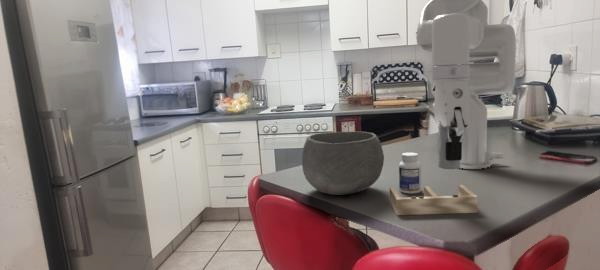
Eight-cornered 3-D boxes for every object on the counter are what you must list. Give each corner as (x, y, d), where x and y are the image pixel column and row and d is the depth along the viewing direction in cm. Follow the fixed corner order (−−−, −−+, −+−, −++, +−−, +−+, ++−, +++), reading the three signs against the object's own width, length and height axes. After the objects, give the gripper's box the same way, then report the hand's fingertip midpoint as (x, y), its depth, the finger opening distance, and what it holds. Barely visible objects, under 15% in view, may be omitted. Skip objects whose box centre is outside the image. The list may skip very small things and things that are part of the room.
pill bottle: (403, 187, 106) (403, 151, 105) (423, 189, 103) (423, 152, 102) (396, 192, 102) (395, 155, 100) (416, 195, 99) (416, 156, 97)
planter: (435, 165, 90) (435, 120, 89) (454, 164, 91) (454, 119, 89) (443, 170, 86) (444, 122, 84) (464, 168, 86) (464, 121, 85)
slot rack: (462, 199, 94) (462, 183, 94) (477, 212, 85) (477, 195, 85) (389, 201, 95) (389, 186, 94) (397, 215, 86) (396, 198, 86)
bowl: (385, 181, 112) (384, 129, 110) (383, 206, 92) (382, 142, 90) (311, 180, 117) (309, 130, 115) (294, 204, 97) (291, 143, 95)
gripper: (484, 73, 77) (482, 165, 79) (454, 73, 94) (454, 150, 96) (444, 74, 77) (443, 166, 80) (422, 75, 94) (422, 151, 97)
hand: (449, 156), depth 88 cm, fingers closed on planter, 4 cm apart
